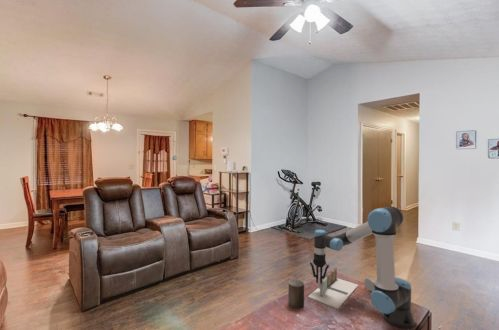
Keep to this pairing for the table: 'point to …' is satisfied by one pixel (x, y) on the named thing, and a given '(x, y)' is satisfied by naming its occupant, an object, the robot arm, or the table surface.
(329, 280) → the fence fixed
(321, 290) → the fence gate
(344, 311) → the table surface
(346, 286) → the board
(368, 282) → the game controller
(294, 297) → the pillar candle
